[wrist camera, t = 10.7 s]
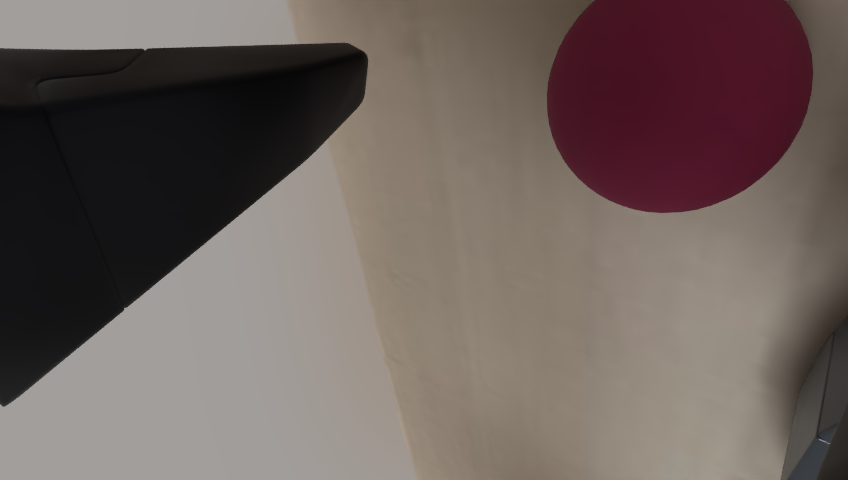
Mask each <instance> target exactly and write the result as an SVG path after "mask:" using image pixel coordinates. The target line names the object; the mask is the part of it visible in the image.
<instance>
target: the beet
mask: <svg viewBox="0 0 848 480" xmlns="http://www.w3.org/2000/svg"><path fill="white" fill-rule="evenodd" d="M812 79H813V67H812V55H811V51H810V47H809V43H808V39H807V37H806V34H805V32H804V30H803V27H802V25H801V23H800V21H799V20H798V18H797V17H796V15H795V13H794V12H793V10H792V9H791V7H790V6H789V5H788V4H787V3H786V2H785V1H784V0H595V1H594V2H593V3H592V4H590V5H589V6H588V7H587V9H586V10H585V11H584V12H583V13H582V14H581V15H580V16H579V17H578V19H577V20H576V21H575V23H574V24H573V26H572V27H571V29H570V30H569V31H568V33H567V34H566V36H565V38H564V40H563V41H562V43H561V45H560V47H559V49H558V52H557V54H556V57H555V60H554V62H553V65H552V69H551V73H550V77H549V82H548V91H547V111H548V119H549V125H550V129H551V133H552V136H553V139H554V141H555V144H556V146H557V149H558V150H559V152H560V154H561V156H562V158H563V159H564V161H565V162H566V164H567V165H568V167H569V168H570V169H571V170H572V172H573V173H574V174H575V175H576V176H577V177H578V178H579V179H580V180H581V181H582V182H583V183H584V184H585V185H587V186H588V187H589V188H590V189H592V190H593V191H595V192H596V193H597V194H599V195H601V196H603V197H604V198H606V199H608V200H610V201H612V202H614V203H617V204H619V205H622V206H625V207H628V208H632V209H635V210H641V211H646V212H657V213H670V212H684V211H691V210H697V209H700V208H704V207H707V206H711V205H713V204H716V203H719V202H721V201H723V200H726V199H728V198H731V197H733V196H734V195H736V194H738V193H740V192H742V191H743V190H745V189H747V188H748V187H749V186H751V185H752V184H753V183H755V182H756V181H757V180H759V179H760V178H761V177H763V176H764V175H765V174H766V173H767V172H768V171H769V170H770V169H771V168H772V167H773V166H774V165H775V164H776V163H777V162H778V161H779V160H780V158H781V157H782V156H783V155H784V153H785V152H786V151H787V150H788V148H789V147H790V145H791V143H792V142H793V140H794V138H795V137H796V135H797V133H798V131H799V130H800V128H801V125H802V123H803V120H804V118H805V115H806V113H807V109H808V105H809V101H810V96H811V91H812Z"/></svg>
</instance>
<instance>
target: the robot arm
mask: <svg viewBox="0 0 848 480" xmlns="http://www.w3.org/2000/svg"><path fill="white" fill-rule="evenodd" d="M367 68H368V58H367V55H366V53H365V52H364V51H362V50H360V49H358V48H356V47H354V46H353V45H351V44H348V43H323V44H291V45H258V46H257V45H255V46H221V47H186V48H152V49H147V50H144V49H110V50H50V49H49V50H48V49H47V50H46V49H4V48H0V404H1V405H2V406H6V405H8V404H9V403H11V402H12V401H14V400H15V399H16V398H18V397H19V396H20V395H21V394H23V393H24V392H25V391H26V390H28V389H29V388H30V387H31V386H32V385H34V384H35V383H36V382H37V381H39V380H40V379H41V378H42V377H43V376H45V375H46V374H47V373H48V372H49V371H51V370H52V369H53V368H54V367H56V366H57V365H58V364H59V363H60V362H62V361H63V360H64V359H65V358H66V357H68V356H69V355H70V354H71V353H72V352H74V351H75V350H76V349H77V348H79V347H80V346H81V345H82V344H84V343H85V342H86V341H87V340H88V339H90V338H91V337H92V336H93V335H94V334H95V333H97V332H98V331H99V330H101V329H102V328H103V327H104V326H105V325H107V324H108V323H109V322H110V321H112V320H113V319H114V318H115V317H116V316H118V315H119V314H120V313H121V312H123V310H124V308H126V307H128V306H129V305H130V304H132V303H133V302H134V301H135V300H136V299H138V298H139V297H140V296H142V295H143V294H144V293H145V292H146V291H148V290H149V289H150V288H151V287H152V286H153V285H155V284H156V283H157V282H158V281H160V280H161V279H162V278H163V277H165V276H166V275H167V274H168V273H170V272H171V271H172V270H173V269H174V268H175V267H177V266H178V265H179V264H181V263H182V262H183V261H184V260H185V259H187V258H188V257H189V256H190V255H191V254H193V253H194V252H195V251H196V250H197V249H199V248H200V247H201V246H202V245H204V243H206V242H207V241H208V240H210V239H211V238H212V237H213V236H214V235H216V234H217V233H218V232H219V231H221V230H222V229H223V228H224V227H226V226H227V225H228V224H229V223H230V222H231V221H233V220H234V219H235V218H236V217H238V216H239V215H240V214H241V213H242V212H244V211H245V210H246V209H247V208H249V207H250V206H251V205H252V204H254V203H255V202H256V201H257V200H258V199H260V198H261V197H262V196H263V195H264V194H266V193H267V192H268V191H269V190H271V189H272V188H273V187H274V186H275V185H277V184H278V183H279V182H280V181H281V180H283V179H284V178H285V177H286V176H288V175H289V174H290V173H291V172H292V171H293V170H295V169H296V168H297V167H298V166H300V165H301V164H302V163H303V162H304V161H305V160H307V159H308V158H309V157H310V156H311V155H312V154H313V153H314V152H315V151H316V150H317V149H318V148H319V147H320V146H321V145H322V144H323V143H324V142H325V141H326V140H327V139H328V138H329V137H330V136H331V135H332V134H333V133H334V132H335V131H336V130H337V129H338V128H339V127H340V125H341V124H342V123H343V122H344V121H345V120H346V119H347V118H348V117H349V116H350V115H351V114H352V113H353V112H354V111H355V110H356V109H357V108H358V107H359V106H360V104H361V103H362V101H363V98H364V95H365V87H366V78H367ZM816 480H848V401H847V403H846V406H845V408H844V410H843V413H842V415H841V418H840V420H839V423H838V425H837V428H836V430H835V432H834V435H833V437H832V440H831V442H830V445H829V447H828V449H827V452H826V454H825V457H824V459H823V462H822V464H821V467H820V469H819V472H818V474H817V477H816Z"/></svg>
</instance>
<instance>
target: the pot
mask: <svg viewBox="0 0 848 480" xmlns="http://www.w3.org/2000/svg"><path fill="white" fill-rule="evenodd" d="M847 401H848V317H847V318H846V319H845V320H844V322H843V323H842V324H841V325H840V326H839V327H838V328H837V329H836V330H835V332H834V333H833V334H832V335H831V336H830V337H829V338H828V339H827V341H826V342H825V344H824V346H823V347H822V349H821V351H820V352H819V354H818V356H817V357H816V359H815V361H814V362H813V364H812V366H811V369H810V372H809V375H808V377H807V379H806V381H805V383H804V384H803V386H802V388H801V390H800V391H799V395H798V399H797V404H796V409H795V414H794V418H793V423H792V428H791V433H790V437H789V442H788V447H787V452H786V456H785V461H784V466H783V471H782V475H781V480H816V477H817V474H818V472H819V469H820V467H821V464H822V462H823V459H824V457H825V454H826V452H827V449H828V447H829V445H830V442H831V440H832V437H833V435H834V432H835V430H836V428H837V425H838V423H839V420H840V418H841V415H842V413H843V410H844V408H845V406H846V403H847Z"/></svg>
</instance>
